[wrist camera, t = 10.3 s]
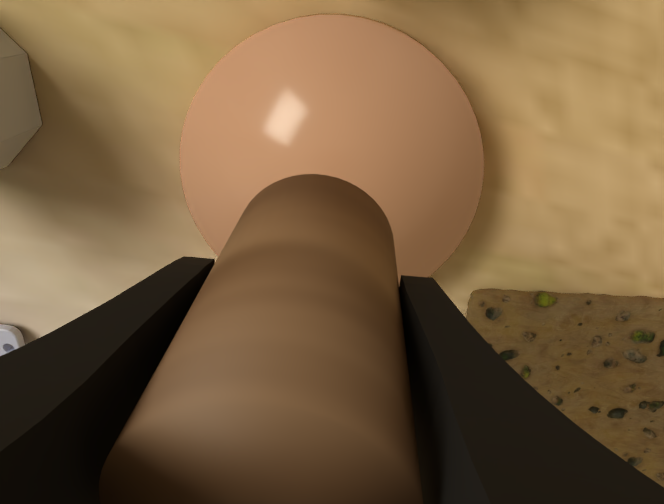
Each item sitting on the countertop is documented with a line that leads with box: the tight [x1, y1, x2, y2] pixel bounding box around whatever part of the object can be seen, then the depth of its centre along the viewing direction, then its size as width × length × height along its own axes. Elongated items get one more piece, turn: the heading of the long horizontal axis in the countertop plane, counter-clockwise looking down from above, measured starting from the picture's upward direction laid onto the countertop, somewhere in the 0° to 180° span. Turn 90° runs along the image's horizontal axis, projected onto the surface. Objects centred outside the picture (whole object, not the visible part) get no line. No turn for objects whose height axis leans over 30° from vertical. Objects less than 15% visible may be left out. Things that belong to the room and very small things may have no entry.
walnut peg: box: [99, 174, 423, 504], centre depth 8 cm, size 4×4×6 cm
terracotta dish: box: [180, 14, 484, 285], centre depth 17 cm, size 10×10×1 cm
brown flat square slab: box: [466, 289, 664, 487], centre depth 22 cm, size 12×12×1 cm
